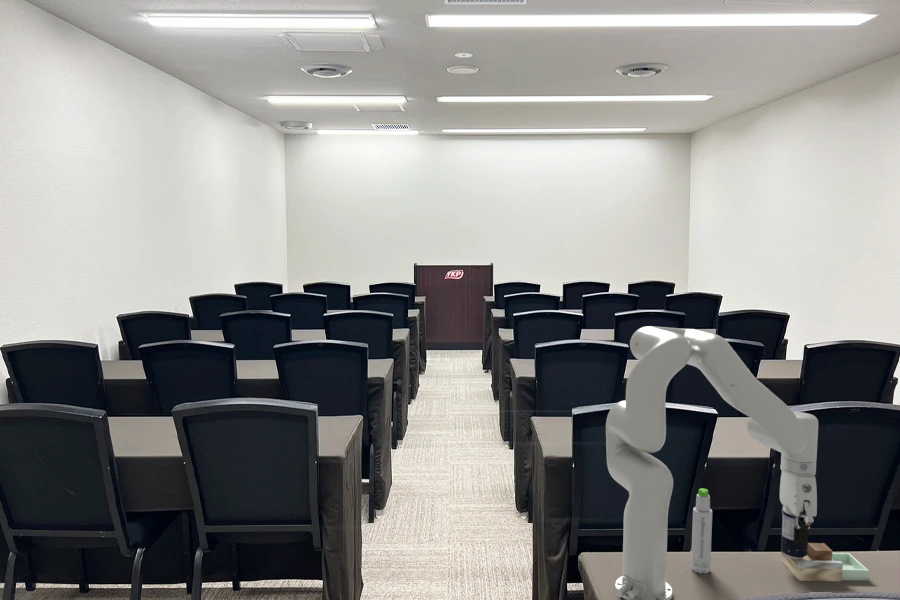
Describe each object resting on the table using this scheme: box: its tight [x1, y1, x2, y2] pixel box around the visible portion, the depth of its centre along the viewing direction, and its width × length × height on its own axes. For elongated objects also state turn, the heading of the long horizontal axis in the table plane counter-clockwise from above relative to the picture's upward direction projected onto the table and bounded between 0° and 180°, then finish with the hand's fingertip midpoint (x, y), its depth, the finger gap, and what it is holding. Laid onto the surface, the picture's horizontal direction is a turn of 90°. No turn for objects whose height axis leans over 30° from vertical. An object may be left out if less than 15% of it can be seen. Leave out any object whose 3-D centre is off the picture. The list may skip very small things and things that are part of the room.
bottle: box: [690, 487, 713, 574], centre depth 170 cm, size 4×4×20 cm
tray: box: [832, 552, 870, 582], centre depth 170 cm, size 6×9×2 cm
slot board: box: [780, 551, 843, 582], centre depth 170 cm, size 10×10×4 cm
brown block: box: [807, 542, 833, 561], centre depth 170 cm, size 4×4×3 cm
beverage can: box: [780, 506, 808, 559], centre depth 170 cm, size 6×6×12 cm
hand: (794, 537), depth 170 cm, fingers closed on beverage can, 5 cm apart
